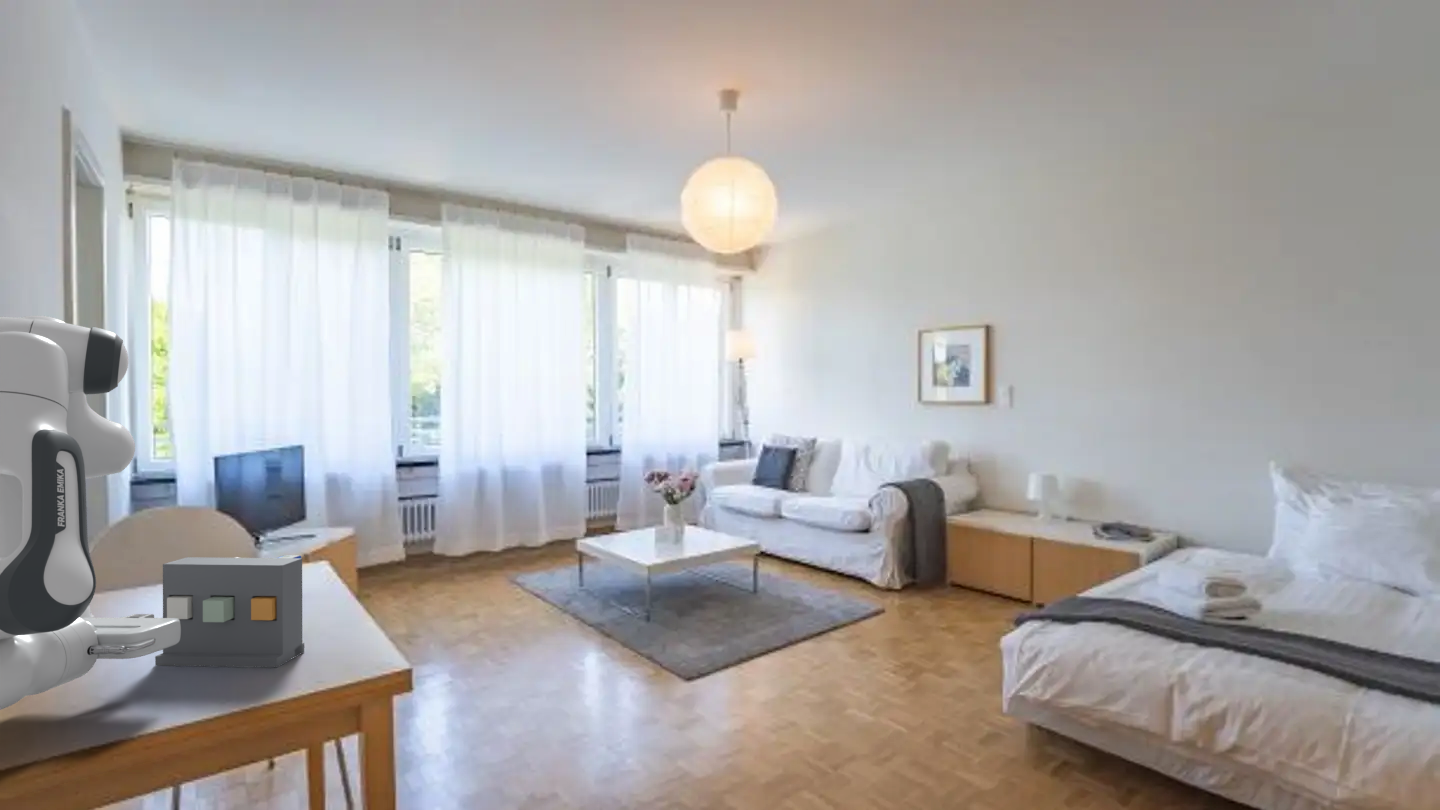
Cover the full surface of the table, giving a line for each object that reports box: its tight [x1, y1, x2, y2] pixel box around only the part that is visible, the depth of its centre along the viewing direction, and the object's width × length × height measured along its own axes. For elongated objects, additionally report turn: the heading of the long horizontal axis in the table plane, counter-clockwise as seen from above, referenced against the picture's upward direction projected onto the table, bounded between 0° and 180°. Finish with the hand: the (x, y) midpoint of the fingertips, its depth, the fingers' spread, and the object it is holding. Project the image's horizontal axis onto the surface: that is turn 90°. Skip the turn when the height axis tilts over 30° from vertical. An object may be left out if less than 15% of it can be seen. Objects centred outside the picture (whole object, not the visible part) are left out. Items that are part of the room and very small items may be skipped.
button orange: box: [251, 596, 277, 620], centre depth 114 cm, size 3×3×3 cm
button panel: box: [154, 556, 305, 668], centre depth 115 cm, size 20×7×16 cm, turn 88°
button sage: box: [203, 596, 235, 622], centre depth 113 cm, size 3×3×3 cm
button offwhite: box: [167, 595, 193, 619], centre depth 114 cm, size 3×3×3 cm
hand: (145, 619), depth 106 cm, fingers closed
